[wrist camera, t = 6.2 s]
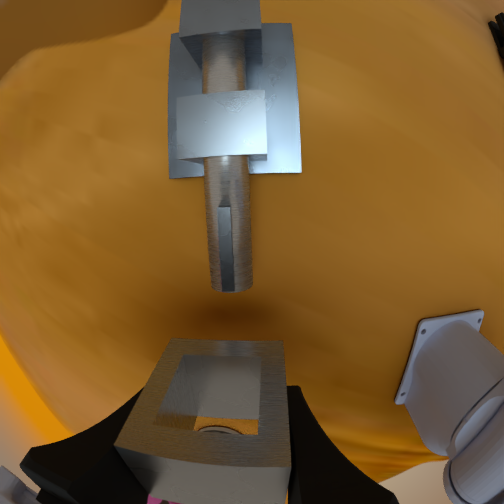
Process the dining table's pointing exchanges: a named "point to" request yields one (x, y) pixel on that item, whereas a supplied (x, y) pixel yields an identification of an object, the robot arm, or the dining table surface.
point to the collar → (206, 443)
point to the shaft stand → (231, 119)
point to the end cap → (498, 32)
